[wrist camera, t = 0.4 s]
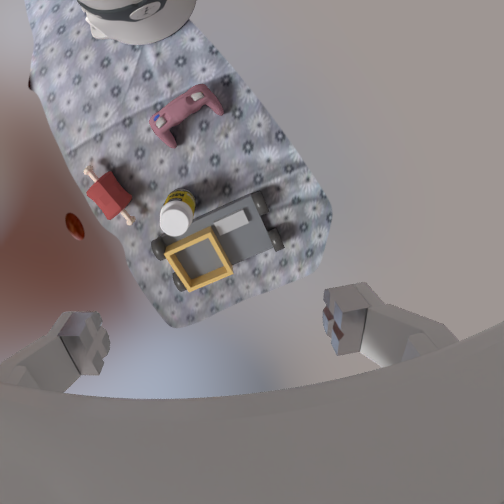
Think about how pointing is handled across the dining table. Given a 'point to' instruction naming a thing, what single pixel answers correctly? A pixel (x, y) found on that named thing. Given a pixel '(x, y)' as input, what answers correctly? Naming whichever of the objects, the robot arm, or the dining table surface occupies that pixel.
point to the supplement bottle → (177, 212)
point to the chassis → (217, 242)
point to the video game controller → (182, 111)
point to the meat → (109, 195)
